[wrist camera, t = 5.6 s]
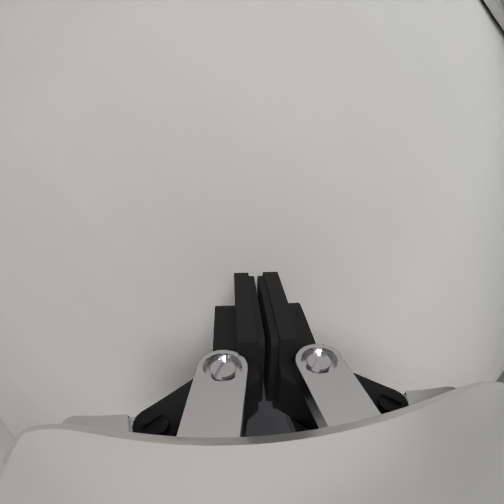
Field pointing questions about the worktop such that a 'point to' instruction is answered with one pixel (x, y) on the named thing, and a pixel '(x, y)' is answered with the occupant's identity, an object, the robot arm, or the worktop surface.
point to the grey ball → (267, 420)
